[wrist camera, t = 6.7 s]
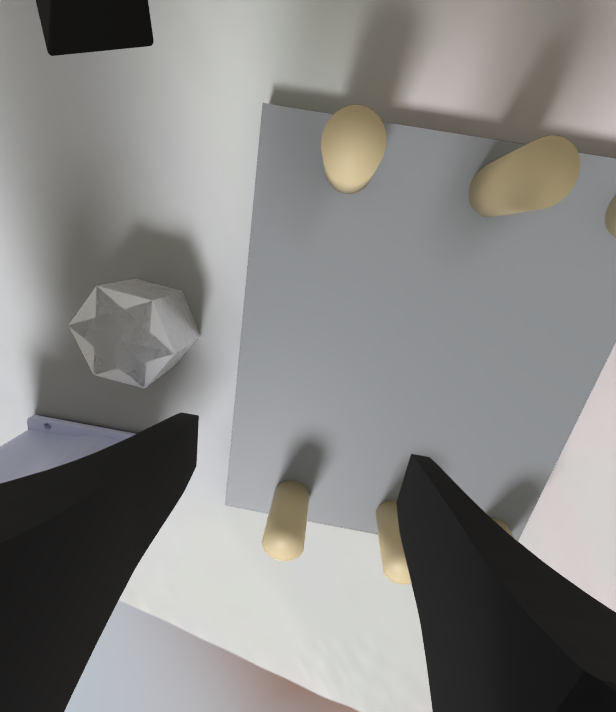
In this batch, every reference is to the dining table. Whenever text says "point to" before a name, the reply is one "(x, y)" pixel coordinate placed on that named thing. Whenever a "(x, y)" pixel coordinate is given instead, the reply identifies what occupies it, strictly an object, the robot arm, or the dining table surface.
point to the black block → (94, 25)
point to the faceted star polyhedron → (134, 330)
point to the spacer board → (414, 320)
